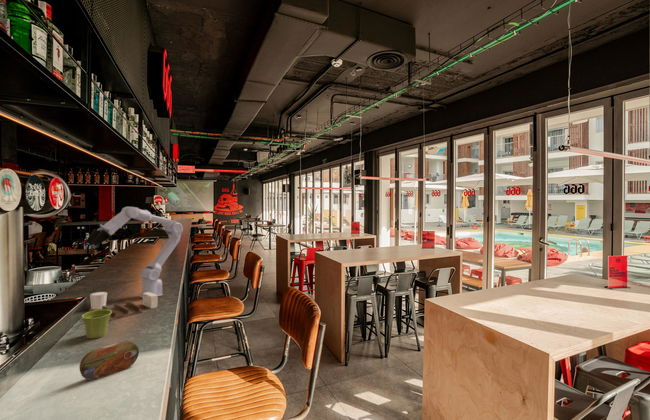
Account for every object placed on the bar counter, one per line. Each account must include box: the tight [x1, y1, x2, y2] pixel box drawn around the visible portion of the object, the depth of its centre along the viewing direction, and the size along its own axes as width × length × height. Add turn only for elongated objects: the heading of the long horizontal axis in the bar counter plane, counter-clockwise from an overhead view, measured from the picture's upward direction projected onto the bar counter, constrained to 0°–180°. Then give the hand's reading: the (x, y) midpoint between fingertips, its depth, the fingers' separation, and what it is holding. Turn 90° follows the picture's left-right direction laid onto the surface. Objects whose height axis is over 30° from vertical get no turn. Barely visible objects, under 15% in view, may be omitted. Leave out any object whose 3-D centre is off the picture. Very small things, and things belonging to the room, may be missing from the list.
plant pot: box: [81, 309, 112, 340], centre depth 118 cm, size 9×9×9 cm
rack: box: [88, 300, 143, 322], centre depth 141 cm, size 17×14×3 cm
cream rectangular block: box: [142, 292, 159, 309], centre depth 154 cm, size 3×9×6 cm, turn 55°
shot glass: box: [89, 291, 108, 310], centre depth 149 cm, size 7×7×7 cm
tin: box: [78, 340, 140, 381], centre depth 94 cm, size 15×3×8 cm, turn 139°
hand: (90, 243), depth 145 cm, fingers open, 7 cm apart
